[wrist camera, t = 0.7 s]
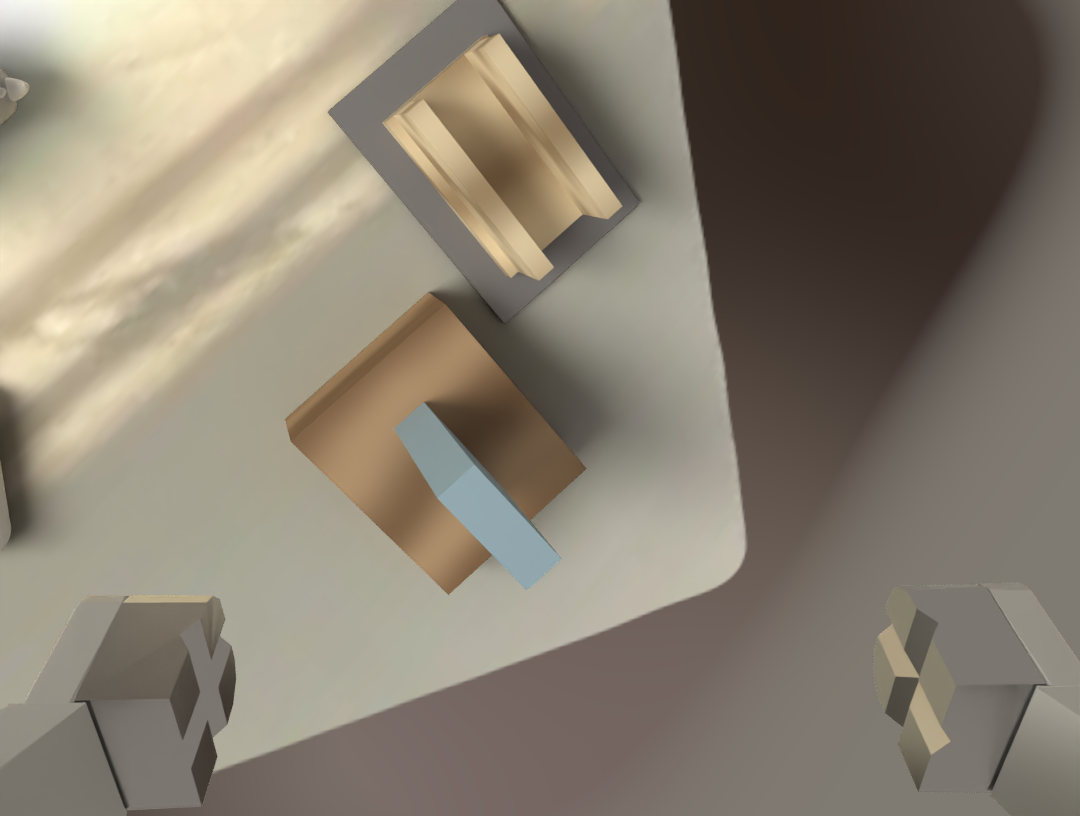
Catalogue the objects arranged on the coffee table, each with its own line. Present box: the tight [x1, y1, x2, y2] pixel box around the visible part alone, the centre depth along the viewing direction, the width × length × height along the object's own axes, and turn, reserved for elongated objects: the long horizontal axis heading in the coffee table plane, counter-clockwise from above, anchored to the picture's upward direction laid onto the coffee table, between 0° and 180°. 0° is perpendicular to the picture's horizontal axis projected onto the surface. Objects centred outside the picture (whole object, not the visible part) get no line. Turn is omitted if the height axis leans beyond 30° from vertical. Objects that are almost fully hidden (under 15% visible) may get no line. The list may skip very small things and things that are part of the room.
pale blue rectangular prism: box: [394, 402, 561, 590], centre depth 44 cm, size 6×2×10 cm, turn 39°
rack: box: [382, 34, 622, 280], centre depth 47 cm, size 10×7×5 cm, turn 38°
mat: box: [328, 0, 640, 324], centre depth 49 cm, size 14×10×1 cm
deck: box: [285, 292, 586, 595], centre depth 50 cm, size 12×10×4 cm
